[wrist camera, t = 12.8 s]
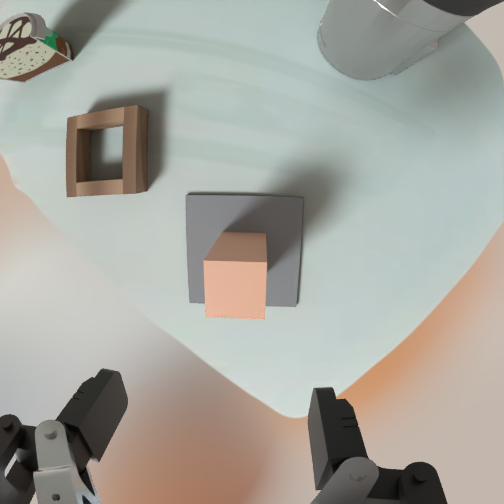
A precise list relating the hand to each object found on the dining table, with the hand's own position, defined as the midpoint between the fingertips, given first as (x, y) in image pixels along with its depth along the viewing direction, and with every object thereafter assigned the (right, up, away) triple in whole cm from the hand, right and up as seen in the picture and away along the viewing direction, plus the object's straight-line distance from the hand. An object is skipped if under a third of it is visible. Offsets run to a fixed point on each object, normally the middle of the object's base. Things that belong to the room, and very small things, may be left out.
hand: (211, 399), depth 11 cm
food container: (-26, +33, +15) cm, 44 cm away
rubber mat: (+1, +6, +21) cm, 22 cm away
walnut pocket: (-14, +17, +18) cm, 29 cm away
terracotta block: (+1, +6, +20) cm, 21 cm away
